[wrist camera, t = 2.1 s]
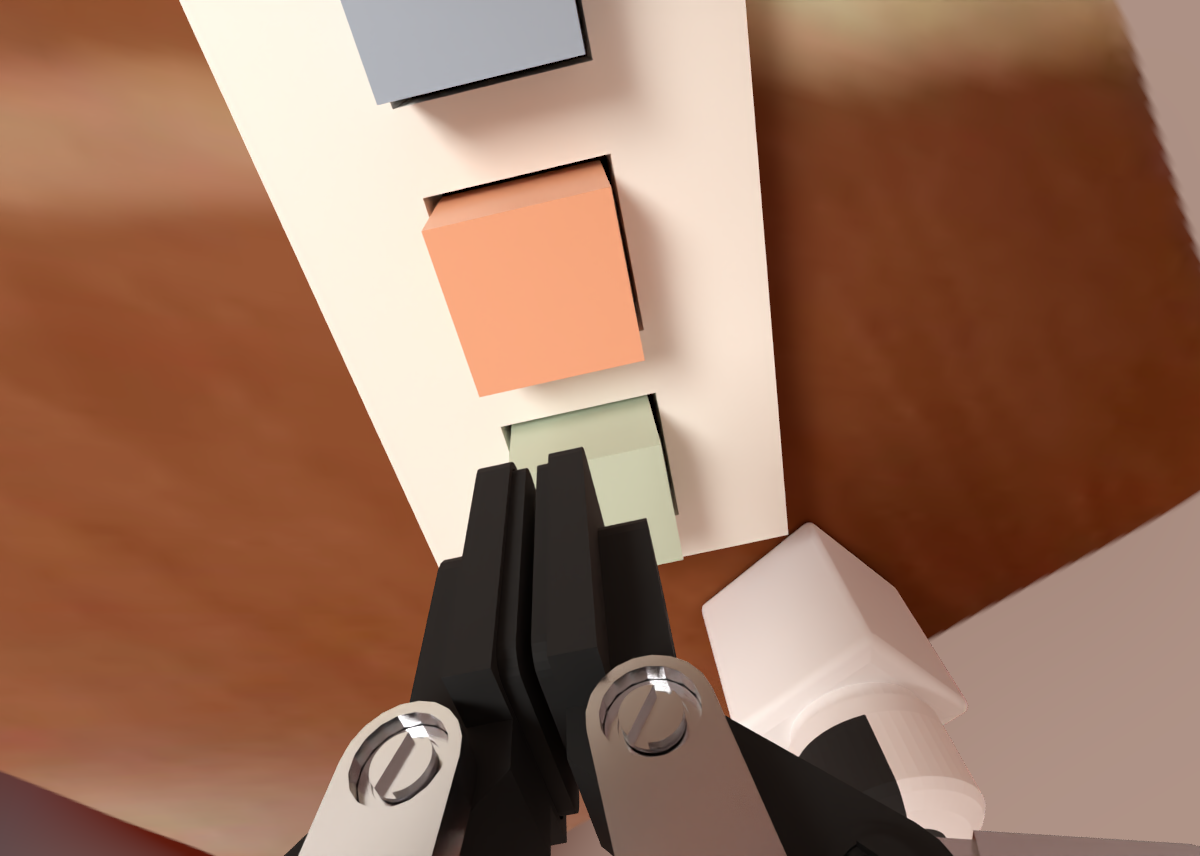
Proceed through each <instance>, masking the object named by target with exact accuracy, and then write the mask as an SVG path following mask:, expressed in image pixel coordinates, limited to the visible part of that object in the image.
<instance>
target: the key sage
mask: <svg viewBox="0 0 1200 856" xmlns="http://www.w3.org/2000/svg"><path fill="white" fill-rule="evenodd" d="M578 447H583V448H584V451H585V454H586V457H587V461H588V465H589V469H590V472H591V476H592V480H593V484H594V488H595V491H596V495H597V499H598V503H599V506H600V510H601V514H602V518H603V521H604V525H605V526H610V525H615V524H619V523H624V522H629V521H634V520H639V519H643V518H647V522H648V526H649V530H650V535H651V539H652V544H653V548H654V553H655V557H656V562H657V565H660V564H665V563H670V562H674V561H679V560H683V555H682V550H681V545H680V539H679V534H678V529H677V524H676V519H675V514H674V508H673V503H672V498H671V493H670V488H669V483H668V477H667V472H666V467H665V462H664V457H663V452H662V447H661V442H660V439H659V435H658V432H657V428H656V425H655V421H654V418H653V414H652V411H651V407H650V403H649V400H648V396H647V395H643V396H638V397H633V398H629V399H624V400H620V401H615V402H611V403H606V404H602V405H597V406H593V407H588V408H584V409H579V410H575V411H570V412H566V413H561V414H557V415H552V416H547V417H543V418H538V419H534V420H529V421H525V422H520V423H516V424H512V427H511V440H510V453H509V462H513V463H514V464H515V466H516V467H517V470H519V469H524V468H528V469H529V471H530V473H531V476H532V479H533V482H534V485H535V488H536V478H537V466H538V465H542V464H547V463H548V455H549V454H550V453H555V452H560V451H564V450H569V449H574V448H578Z"/></svg>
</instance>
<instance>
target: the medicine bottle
mask: <svg viewBox="0 0 1200 856" xmlns="http://www.w3.org/2000/svg"><path fill="white" fill-rule="evenodd" d="M702 614H703V618H704V621H705V625H706V629H707V632H708V636H709V640H710V643H711V647H712V651H713V654H714V658H715V662H716V665H717V669H718V673H719V676H720V680H721V684H722V687H723V691H724V695H725V698H726V702H727V706H728V709H729V713H730V717H731V719H732V720H734V721H736V722H738V723H739V724H741V725H743V726H745V727H746V728H748V729H750V730H752V731H754V732H755V733H757V734H759V735H761V736H762V737H764V738H766V739H768V740H770V741H771V742H773V743H775V744H777V745H779V746H780V747H782V748H784V749H786V750H787V751H789V752H791V753H793V754H795V755H796V756H798V757H800V758H802V759H803V760H805V761H807V762H809V763H811V764H812V765H814V766H816V767H818V768H819V769H821V770H823V771H825V772H827V773H828V774H830V775H832V776H834V777H835V778H837V779H839V780H841V781H843V782H844V783H846V784H848V785H850V786H851V787H853V788H855V789H857V790H859V791H860V792H862V793H864V794H866V795H868V796H869V797H871V798H873V799H875V800H876V801H878V802H880V803H882V804H884V805H885V806H887V807H889V808H891V809H892V810H894V811H896V812H898V813H900V814H901V815H903V816H905V817H907V818H908V819H910V820H912V821H914V822H916V823H917V824H919V825H920V826H921V827H923V828H924V829H925V830H927V831H928V832H930V833H931V834H932V835H934V836H935V837H941V838H956V839H971V840H972V837H973V830H977V831H980V829H981V827H982V825H983V822H984V816H985V809H986V803H985V799H984V797H983V795H982V793H981V791H980V789H979V788H978V786H977V784H976V783H975V781H974V779H973V777H972V776H971V774H970V772H969V770H968V769H967V767H966V765H965V763H964V762H963V760H962V758H961V756H960V755H959V753H958V751H957V749H956V748H955V746H954V744H953V742H952V740H951V739H950V737H949V735H948V733H947V732H946V730H945V728H944V726H943V725H945V724H946V723H948V722H950V721H952V720H953V719H955V718H956V717H958V716H960V715H961V714H963V713H965V712H966V710H967V708H968V704H967V701H966V699H965V698H964V697H963V695H962V693H961V691H960V690H959V688H958V687H957V685H956V684H955V682H954V680H953V679H952V677H951V676H950V674H949V672H948V671H947V669H946V668H945V666H944V664H943V663H942V661H941V660H940V658H939V657H938V655H937V653H936V652H935V650H934V649H933V647H932V645H931V644H930V642H929V641H928V639H927V637H926V636H925V634H924V633H923V631H922V629H921V628H920V626H919V625H918V623H917V621H916V620H915V618H914V617H913V615H912V613H911V612H910V610H909V609H908V607H907V606H906V604H905V602H904V601H903V599H902V598H901V596H900V594H899V593H898V591H897V590H896V588H895V587H894V586H892V585H891V584H890V583H889V582H887V581H886V580H885V579H883V578H882V577H881V576H880V575H878V574H877V573H876V572H875V571H873V570H872V569H871V568H869V567H868V566H867V565H866V564H864V563H863V562H862V561H860V560H859V559H858V558H857V557H855V556H854V555H853V554H852V553H850V552H849V551H848V550H846V549H845V548H844V547H843V546H841V545H840V544H839V543H838V542H836V541H835V540H834V539H832V538H831V537H830V536H829V535H827V534H826V533H825V532H824V531H822V530H821V529H820V528H818V527H817V526H816V525H815V524H813V523H811V522H810V523H806V524H804V525H802V526H801V527H800V528H799V529H797V530H796V531H795V532H794V533H792V534H791V535H790V536H789V537H787V538H786V539H785V540H784V541H782V542H781V543H780V544H779V545H777V546H776V547H775V548H774V549H772V550H771V551H770V552H769V553H768V554H766V555H765V556H764V557H763V558H761V559H760V560H759V561H758V562H756V563H755V564H754V565H753V566H751V567H750V568H749V569H748V570H746V571H745V572H744V573H743V574H741V575H740V576H739V577H738V578H736V579H735V580H734V581H733V582H731V583H730V584H729V585H728V586H726V587H725V588H724V589H723V590H721V591H720V592H719V593H718V594H716V595H715V596H714V597H713V598H711V599H710V600H709V601H708V602H706V603H705V604H704V605H703V606H702Z"/></svg>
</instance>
